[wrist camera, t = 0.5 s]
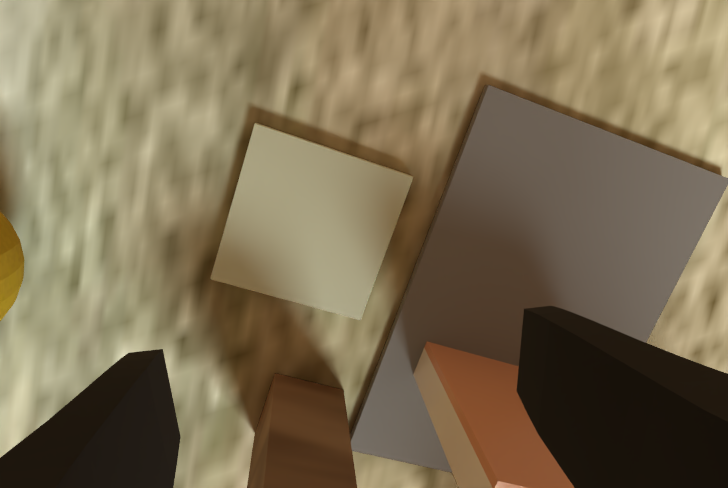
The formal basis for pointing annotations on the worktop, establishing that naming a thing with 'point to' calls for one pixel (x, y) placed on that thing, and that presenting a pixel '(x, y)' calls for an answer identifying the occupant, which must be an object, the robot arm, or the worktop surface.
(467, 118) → the worktop surface
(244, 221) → the board
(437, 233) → the mat
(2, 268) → the lemon
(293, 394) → the block
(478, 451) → the tile
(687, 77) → the worktop surface
